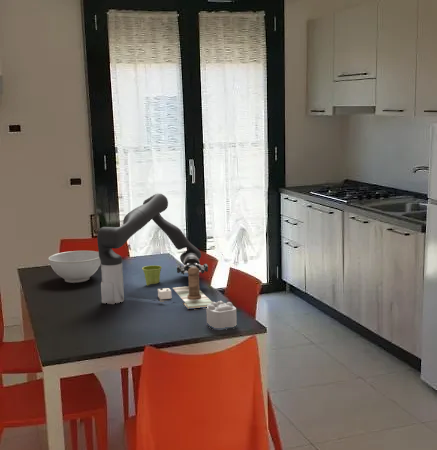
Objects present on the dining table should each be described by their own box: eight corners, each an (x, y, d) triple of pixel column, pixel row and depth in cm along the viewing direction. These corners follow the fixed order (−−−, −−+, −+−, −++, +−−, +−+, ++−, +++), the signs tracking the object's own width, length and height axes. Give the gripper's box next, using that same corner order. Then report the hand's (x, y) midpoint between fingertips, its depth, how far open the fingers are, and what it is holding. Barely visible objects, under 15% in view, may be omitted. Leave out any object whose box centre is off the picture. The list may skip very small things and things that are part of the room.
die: (171, 301, 284) (171, 289, 283) (160, 303, 283) (159, 290, 282) (169, 298, 289) (168, 286, 288) (158, 299, 288) (157, 288, 287)
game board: (215, 307, 274) (215, 303, 274) (187, 310, 271) (187, 306, 271) (196, 288, 305) (196, 285, 304) (171, 290, 301) (171, 287, 301)
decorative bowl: (112, 274, 337) (111, 251, 335) (90, 287, 311) (88, 263, 309) (65, 272, 343) (64, 249, 341) (39, 285, 318) (38, 261, 316)
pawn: (197, 300, 280) (196, 268, 278) (185, 298, 283) (184, 267, 280) (203, 296, 285) (202, 265, 283) (191, 295, 288) (190, 264, 285)
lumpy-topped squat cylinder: (215, 331, 244) (214, 309, 242) (201, 322, 256) (201, 300, 254) (239, 327, 248) (239, 305, 246) (225, 318, 260) (225, 297, 258)
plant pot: (141, 287, 308) (140, 270, 307) (144, 282, 318) (143, 265, 316) (161, 287, 308) (160, 269, 306) (163, 282, 317) (162, 265, 316)
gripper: (176, 256, 307) (176, 264, 292) (206, 255, 308) (208, 263, 293) (176, 272, 309) (177, 280, 293) (206, 270, 310) (208, 279, 294)
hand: (192, 272), depth 293 cm, fingers open, 8 cm apart
